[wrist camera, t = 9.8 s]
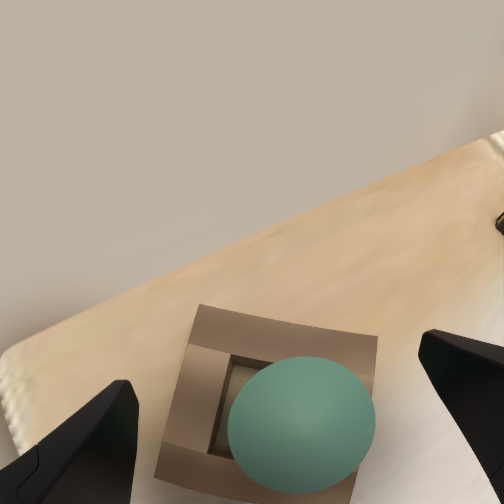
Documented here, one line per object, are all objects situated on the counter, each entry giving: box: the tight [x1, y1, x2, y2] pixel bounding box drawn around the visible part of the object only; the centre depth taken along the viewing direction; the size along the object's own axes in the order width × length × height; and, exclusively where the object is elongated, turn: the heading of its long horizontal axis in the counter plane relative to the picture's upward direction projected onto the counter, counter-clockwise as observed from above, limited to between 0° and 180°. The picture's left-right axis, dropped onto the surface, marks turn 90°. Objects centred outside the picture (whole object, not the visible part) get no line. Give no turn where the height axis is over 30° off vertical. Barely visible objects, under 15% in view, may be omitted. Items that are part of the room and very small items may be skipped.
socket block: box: [154, 304, 378, 504], centre depth 16 cm, size 11×11×4 cm
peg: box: [227, 356, 375, 494], centre depth 12 cm, size 4×4×12 cm
